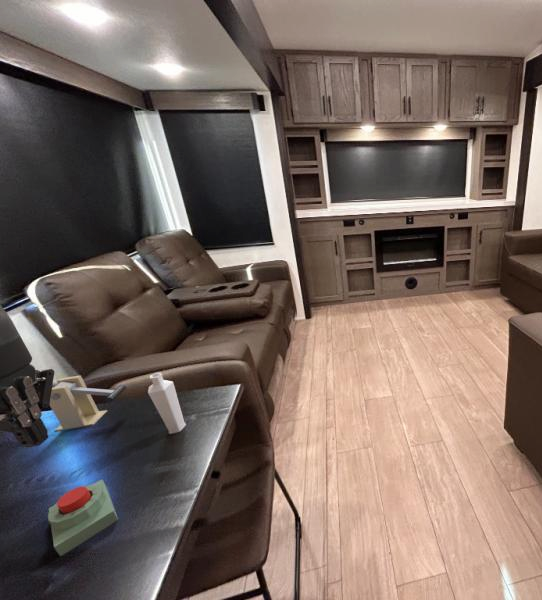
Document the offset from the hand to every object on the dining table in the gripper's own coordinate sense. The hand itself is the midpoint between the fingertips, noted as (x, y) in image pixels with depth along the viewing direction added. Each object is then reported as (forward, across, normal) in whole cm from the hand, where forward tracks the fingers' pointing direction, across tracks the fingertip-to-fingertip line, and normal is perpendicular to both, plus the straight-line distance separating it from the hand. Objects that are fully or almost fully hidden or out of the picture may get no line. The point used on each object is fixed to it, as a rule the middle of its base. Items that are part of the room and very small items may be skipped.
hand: (37, 442), depth 48 cm
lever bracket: (+16, -27, -18) cm, 37 cm away
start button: (+13, +1, +1) cm, 13 cm away
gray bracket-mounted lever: (+9, -27, -14) cm, 32 cm away
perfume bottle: (+16, -18, +7) cm, 26 cm away
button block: (+16, +1, +1) cm, 16 cm away
